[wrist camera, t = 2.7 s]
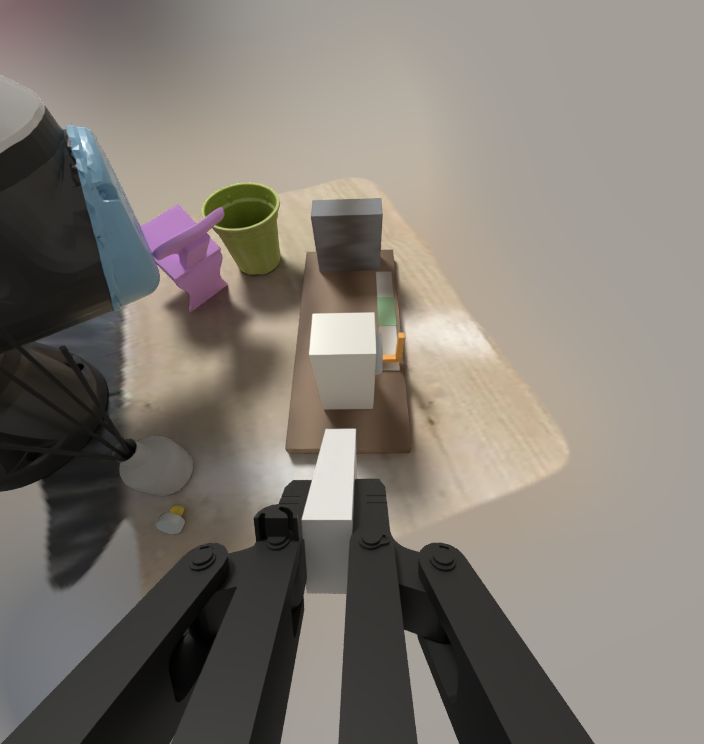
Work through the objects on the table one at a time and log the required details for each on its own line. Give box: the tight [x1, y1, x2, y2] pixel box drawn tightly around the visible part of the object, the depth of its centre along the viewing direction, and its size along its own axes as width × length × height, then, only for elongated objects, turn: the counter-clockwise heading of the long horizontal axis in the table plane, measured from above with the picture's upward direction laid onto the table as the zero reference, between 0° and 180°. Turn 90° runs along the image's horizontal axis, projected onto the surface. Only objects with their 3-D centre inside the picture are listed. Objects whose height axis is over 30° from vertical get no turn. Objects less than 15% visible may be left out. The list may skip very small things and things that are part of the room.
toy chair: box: [140, 205, 227, 312], centre depth 36 cm, size 8×9×15 cm
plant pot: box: [201, 183, 280, 275], centre depth 43 cm, size 9×9×9 cm
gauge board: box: [285, 198, 411, 454], centre depth 35 cm, size 12×28×10 cm, turn 0°
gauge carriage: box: [309, 312, 383, 410], centre depth 29 cm, size 6×4×10 cm
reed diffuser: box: [0, 327, 193, 534], centre depth 23 cm, size 10×7×20 cm
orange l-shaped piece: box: [383, 333, 405, 362], centre depth 33 cm, size 8×2×5 cm, turn 90°
